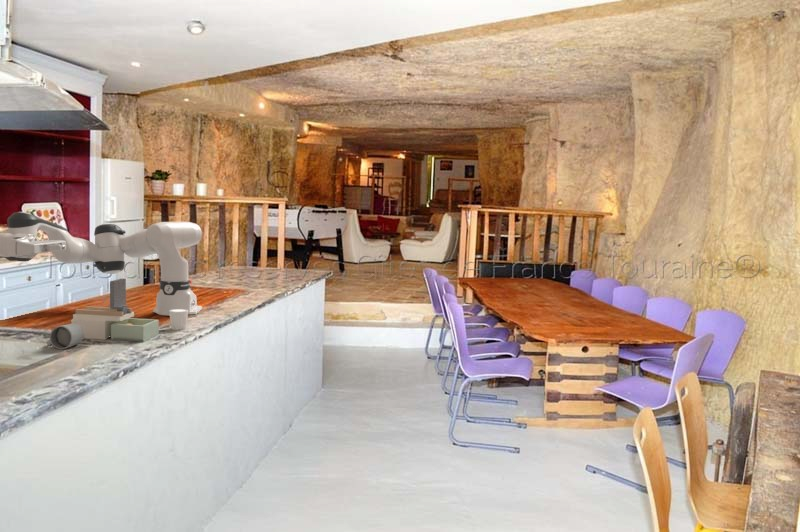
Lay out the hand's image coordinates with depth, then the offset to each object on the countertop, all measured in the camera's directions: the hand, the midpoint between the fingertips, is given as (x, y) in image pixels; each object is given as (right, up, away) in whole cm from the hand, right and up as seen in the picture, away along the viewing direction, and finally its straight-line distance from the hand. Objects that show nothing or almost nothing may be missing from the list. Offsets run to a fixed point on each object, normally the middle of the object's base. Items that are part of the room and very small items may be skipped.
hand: (63, 247), depth 234 cm
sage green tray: (+28, -32, -5) cm, 43 cm away
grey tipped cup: (+12, -33, -22) cm, 41 cm away
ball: (+26, -29, -5) cm, 39 cm away
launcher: (+17, -31, -4) cm, 36 cm away
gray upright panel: (+24, -24, -6) cm, 34 cm away
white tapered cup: (+38, -31, +12) cm, 50 cm away
